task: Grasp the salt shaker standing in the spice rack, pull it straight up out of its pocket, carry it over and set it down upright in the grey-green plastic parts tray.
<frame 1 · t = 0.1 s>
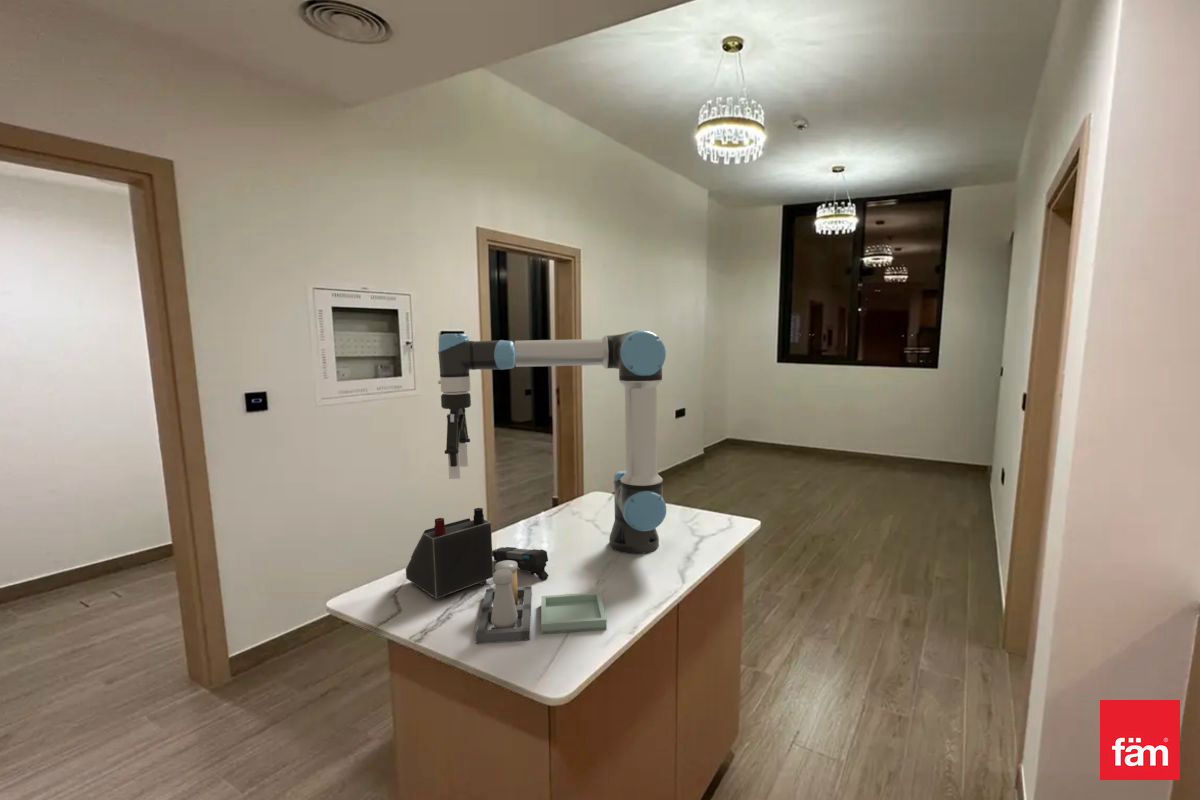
hand: (459, 472, 144), 28 cm above the worktop, fingers open, 13 cm apart
voltmeter: (449, 583, 141), on the worktop
salt shaker: (504, 629, 118), resting in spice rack
parts tray: (572, 616, 122), on the worktop
gun: (520, 570, 149), on the worktop
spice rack: (506, 616, 123), on the worktop
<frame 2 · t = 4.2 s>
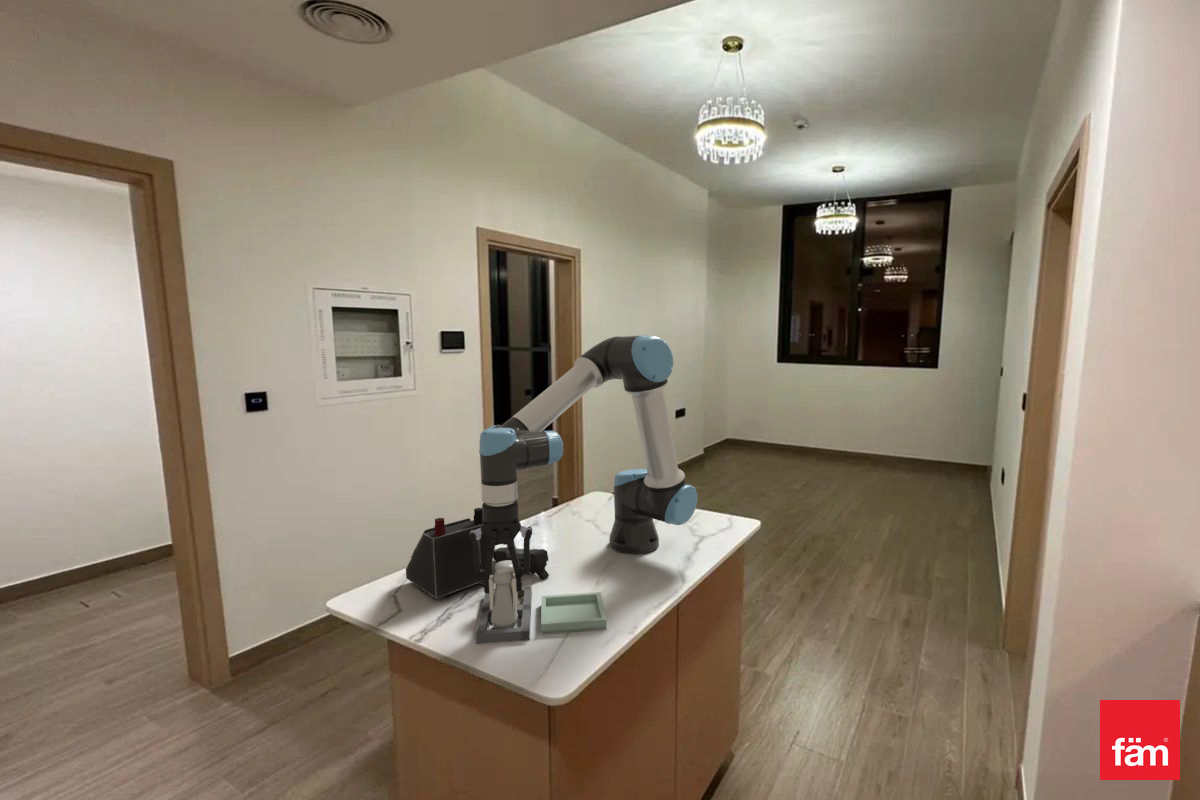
hand: (503, 605, 117), 5 cm above the worktop, fingers closed on salt shaker, 4 cm apart
salt shaker: (504, 629, 118), resting in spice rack, touching gripper
everything else where it was.
when the fingers open (7 cm above the worktop, at t = 10.5 s): salt shaker stays where it is, resting on parts tray.
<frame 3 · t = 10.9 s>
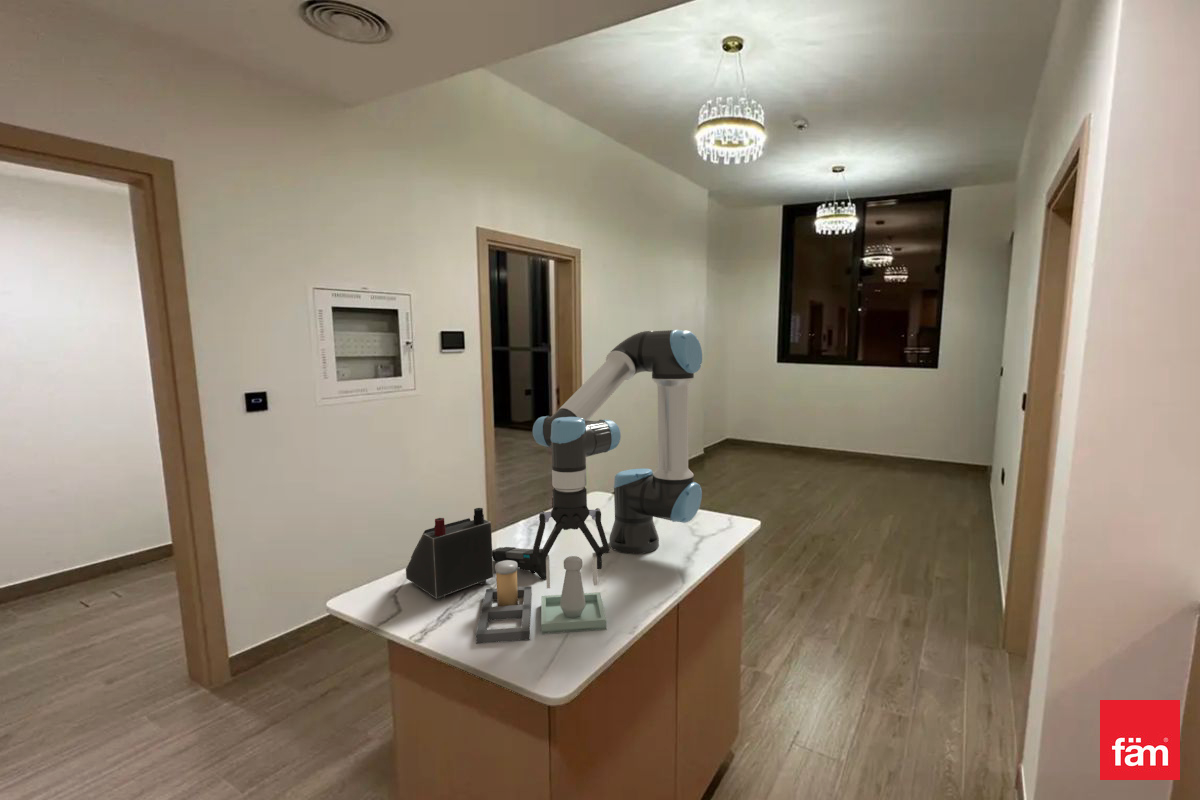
hand: (571, 584, 121), 8 cm above the worktop, fingers open, 10 cm apart
salt shaker: (572, 614, 122), resting on parts tray
everything else where it was.
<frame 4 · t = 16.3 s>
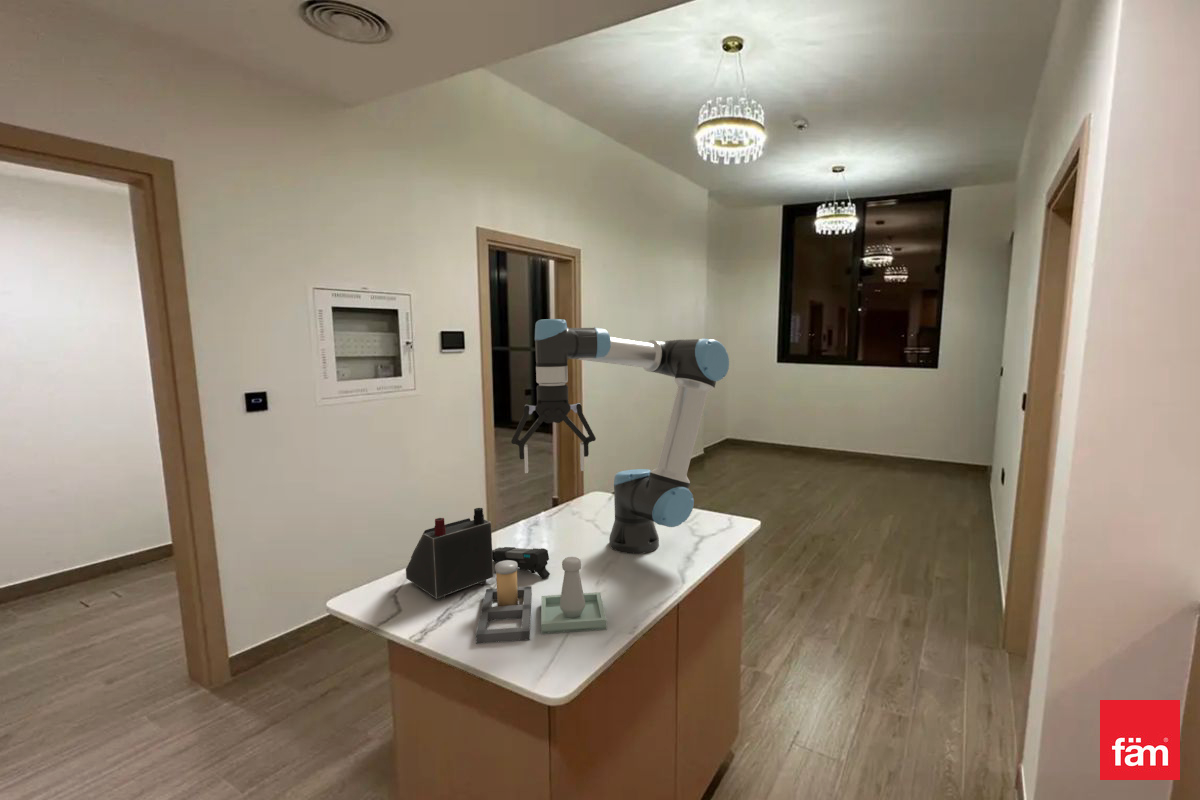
hand: (554, 471, 132), 31 cm above the worktop, fingers open, 13 cm apart
nothing on the worktop moved.
at the end: salt shaker inside the target area on the parts tray (0.0 cm from its centre), point 0.4 cm above the parts tray's base; salt shaker tilted 0°; the gripper is holding nothing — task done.
